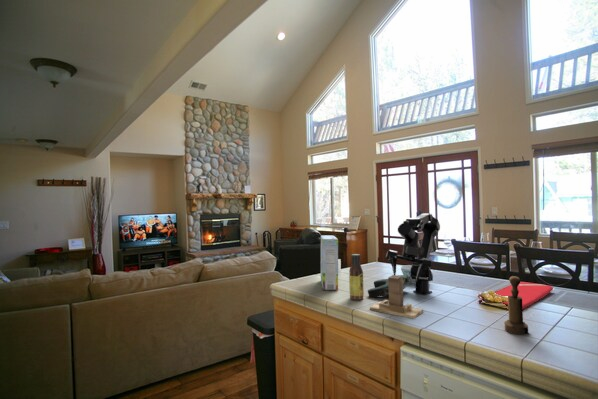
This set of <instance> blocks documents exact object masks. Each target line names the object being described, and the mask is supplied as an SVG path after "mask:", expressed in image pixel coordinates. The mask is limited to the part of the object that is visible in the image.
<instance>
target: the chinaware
mask: <svg viewBox="0 0 598 399" xmlns="http://www.w3.org/2000/svg"><path fill="white" fill-rule="evenodd" d="M411 267H412V264H406V265H402V266H400V270H401V273H402V275H408V276H411ZM413 280H414V282H412V281H413ZM415 280H416V279H412V277H410V279H409V281H411V282H412V283H411V282H410V283H411V284H415V283H416V282H415Z"/></svg>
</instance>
